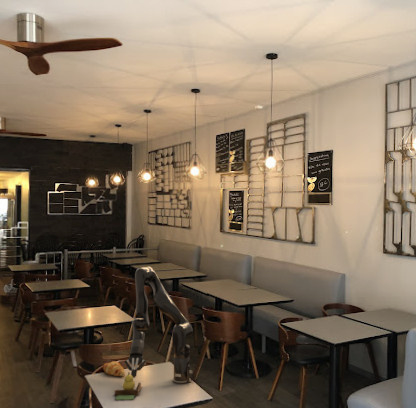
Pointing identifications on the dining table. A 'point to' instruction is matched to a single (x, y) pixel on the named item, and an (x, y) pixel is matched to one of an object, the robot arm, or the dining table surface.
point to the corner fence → (128, 391)
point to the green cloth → (125, 397)
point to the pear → (128, 382)
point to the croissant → (114, 368)
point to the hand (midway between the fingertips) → (133, 377)
